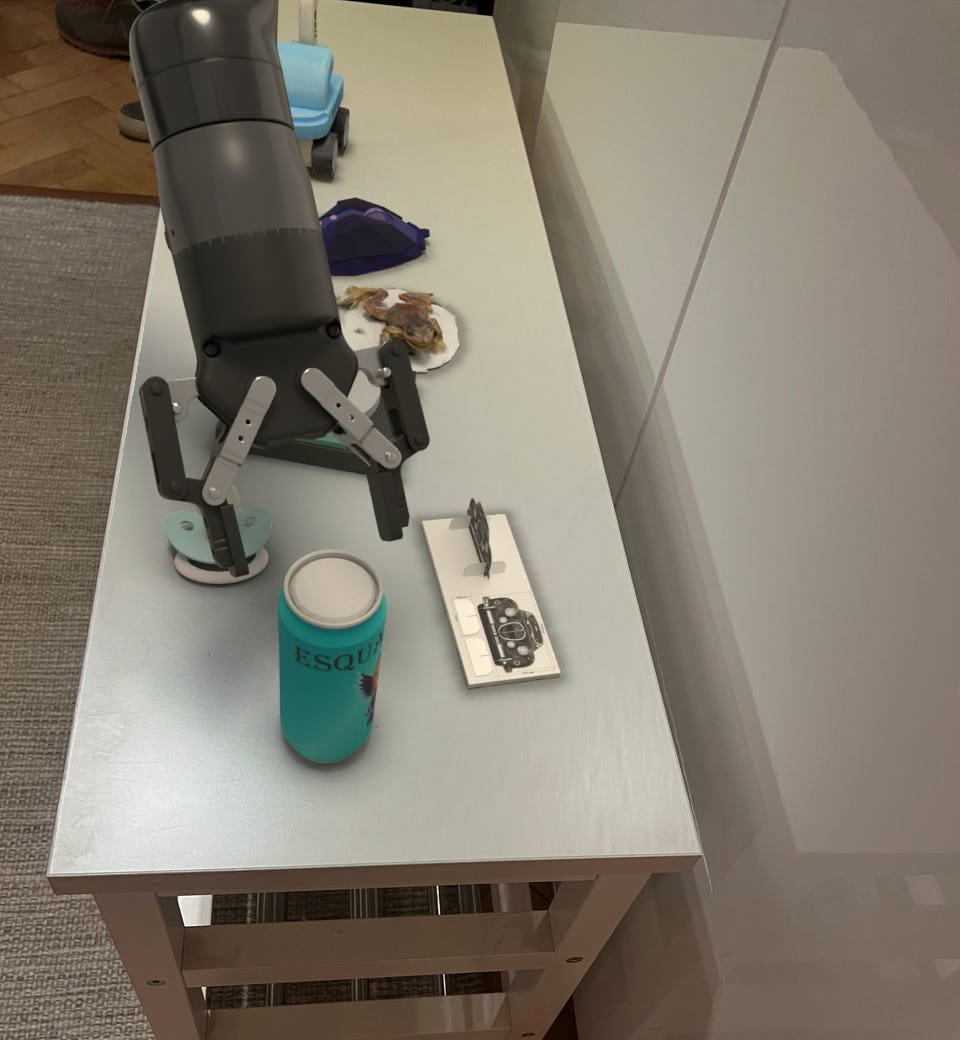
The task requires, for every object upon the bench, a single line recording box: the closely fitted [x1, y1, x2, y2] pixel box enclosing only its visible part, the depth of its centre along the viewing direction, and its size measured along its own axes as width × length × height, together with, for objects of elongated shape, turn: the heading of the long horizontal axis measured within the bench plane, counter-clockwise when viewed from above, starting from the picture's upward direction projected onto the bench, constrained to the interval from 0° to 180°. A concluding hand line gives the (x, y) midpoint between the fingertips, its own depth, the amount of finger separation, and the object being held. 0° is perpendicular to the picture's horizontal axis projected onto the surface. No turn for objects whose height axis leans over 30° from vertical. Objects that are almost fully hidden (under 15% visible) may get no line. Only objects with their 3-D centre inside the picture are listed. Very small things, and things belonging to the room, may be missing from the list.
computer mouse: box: [319, 196, 431, 277], centre depth 94 cm, size 9×15×4 cm, turn 111°
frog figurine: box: [335, 285, 461, 374], centre depth 87 cm, size 12×12×4 cm
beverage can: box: [277, 548, 388, 764], centre depth 58 cm, size 6×6×15 cm
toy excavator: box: [277, 0, 351, 178], centre depth 98 cm, size 9×17×17 cm, turn 174°
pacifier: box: [163, 483, 273, 585], centre depth 68 cm, size 7×6×6 cm
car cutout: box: [420, 497, 562, 689], centre depth 70 cm, size 15×7×4 cm, turn 14°
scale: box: [215, 370, 418, 475], centre depth 79 cm, size 14×11×3 cm
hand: (318, 556), depth 53 cm, fingers open, 8 cm apart
